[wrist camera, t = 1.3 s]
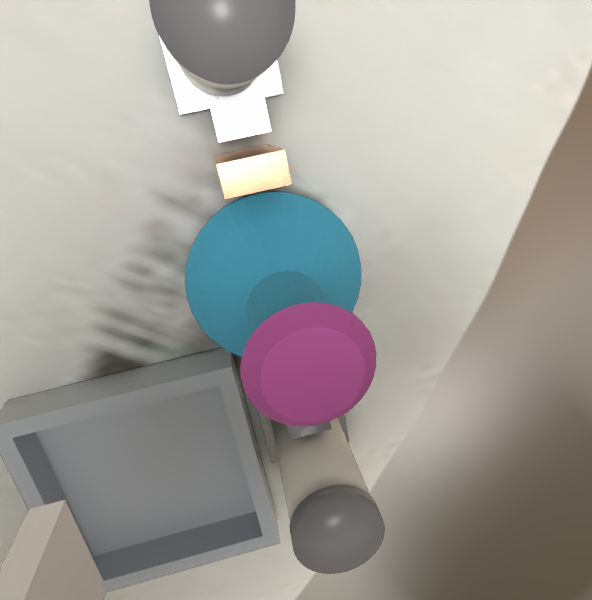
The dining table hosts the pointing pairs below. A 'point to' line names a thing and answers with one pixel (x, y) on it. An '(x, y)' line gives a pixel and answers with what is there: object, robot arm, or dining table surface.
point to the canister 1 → (224, 39)
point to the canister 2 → (327, 501)
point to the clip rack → (244, 164)
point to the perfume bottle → (284, 305)
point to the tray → (146, 465)
